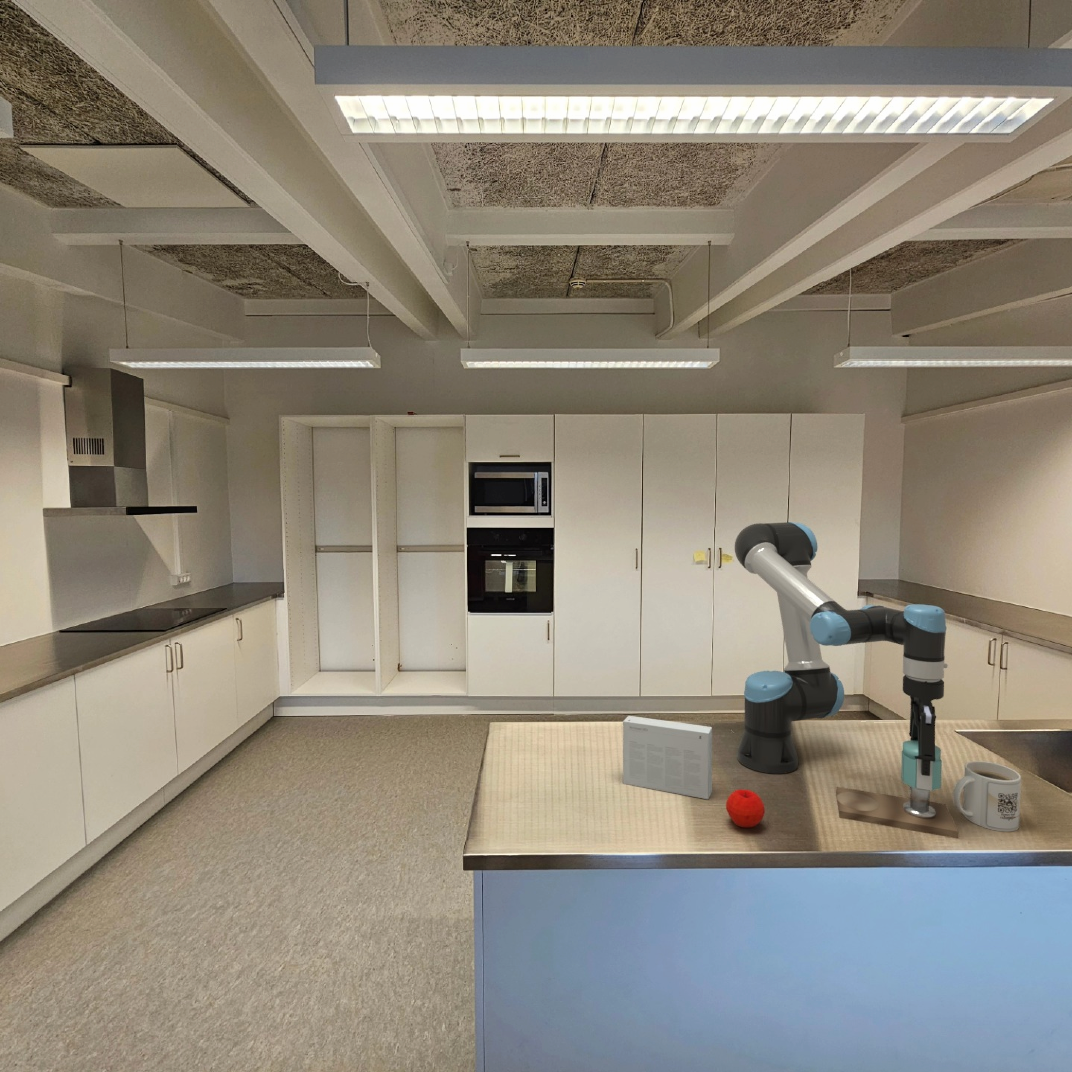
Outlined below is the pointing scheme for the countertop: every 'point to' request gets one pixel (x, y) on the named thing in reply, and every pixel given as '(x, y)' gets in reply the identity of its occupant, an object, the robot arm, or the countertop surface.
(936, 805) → the board
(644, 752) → the skincare box
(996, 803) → the mug
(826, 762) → the countertop surface
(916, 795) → the stud
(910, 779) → the cap
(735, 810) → the apple
